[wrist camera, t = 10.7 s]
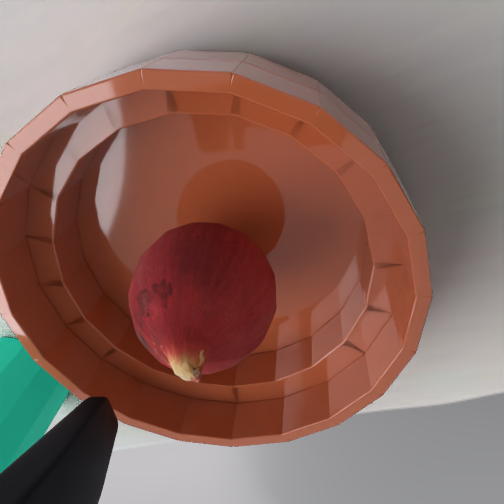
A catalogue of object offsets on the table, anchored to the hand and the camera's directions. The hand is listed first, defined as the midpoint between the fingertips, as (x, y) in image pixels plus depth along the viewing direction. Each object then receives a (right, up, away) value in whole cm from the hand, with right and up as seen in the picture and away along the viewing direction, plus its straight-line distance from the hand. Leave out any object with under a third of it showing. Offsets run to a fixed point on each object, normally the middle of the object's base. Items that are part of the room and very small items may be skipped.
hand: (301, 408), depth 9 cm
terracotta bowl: (-3, +4, +12) cm, 13 cm away
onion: (-3, +4, +11) cm, 12 cm away
